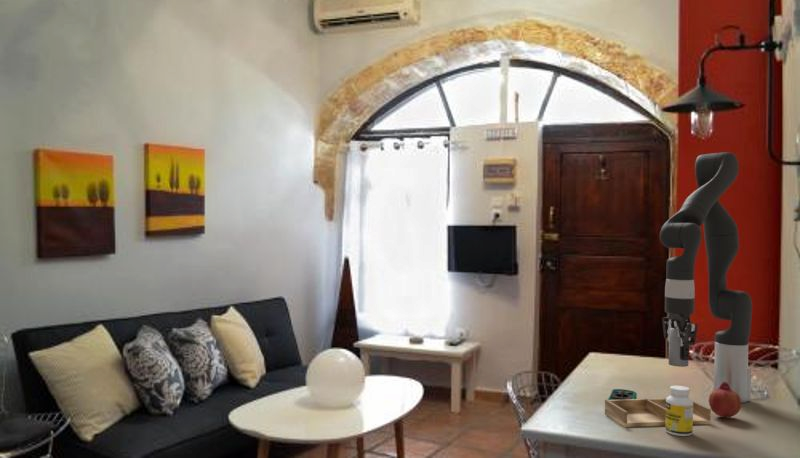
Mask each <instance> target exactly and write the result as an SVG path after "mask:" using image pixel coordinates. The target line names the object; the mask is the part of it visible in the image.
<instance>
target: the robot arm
mask: <svg viewBox="0 0 800 458" xmlns="http://www.w3.org/2000/svg"><path fill="white" fill-rule="evenodd" d="M739 165H740V164H739V159H738V157H737V156H736V154H735V153H733V152H729V151H727V152H726V151H724V152H723V151H722V152H714V153H713V152H712V153H706V154H699V155H698V156H697V157H696V159H695V163H694V170H695V171H694V174H695V181H696V185H697V189H695V190H694V191H693V192H692V193H690V195H689V196H687V197H686V198H685V200H684V202H683V203H682V205H681V207H680V209H679V210H678V211H677V212H676V213H675V214H673V215H672V216H671V217H670V218H669V219H667V221H665V222H664V224H662V226H661V229H660V231H659V241H660V244H661V245H663V246H664V248H668V249H683V252H682V253H681V255H679V256H672V257H670V258H668V259H667V260H666V269H665V270H666V271H665V273H666V275H665V278H666V279H665V285H664V312H665V313H666V314H668V316H663V317H662V319H661V320H662V321H661V322H662V330H663V338H664V339H666V340H667V342H668V343H669V327H671V328H676V329H677V337H678V338H679V340H680V345H681V346H680V359H681V360H688V361H689V359H690V347H691V346H694V345H696V340H697V335H698V334H697V333H698V332H697V331H698V324H697V323H693V322H692V320H691V315H693V314H695V305H696V304H695V303H696V302H695V301H696V300H695V299H696V297H695V296H696V293H695V291H696V290H695V289H696V287H695V264H696V259H697V255H698V252H699V248H700V246H701V242H702V238H703V236H704V243H705V244H704V245H705V251H706V259H707V272H708V273H707V274H708V306H709V311H710V313H711V315H712V316H713V317H714V318H716V319H719V320H725V321H731V322H730V326H729V327H728V328H726V329H724V330H720V331H717V332H715V334H714V367H713V368H714V369H713V370H714V371H713V373H714V374H713V375H714V377H713V391H714V390H715V389H718V388H719V387H720V385H721V384H722V383H723V382H727V383H728V384H729V386H730V389H731V390H733V391H735V392H736V393H737V394H738V395H739V397H740V400H741V403H742V404H743V403H747V402H751V396H752V395H751V392H752V391H751V390H752V389H751V388H752V387H751V384H752V380H751V379H752V370H751V368H749V340H750V339H749V338H750V336H751V329H752V318H753V317H752V315H753V302H752V297H751V295H750V294H749V293H748V292H746V291H742V290H735V289H728V288H727V274H728V272H729V269H730V268H731V265H732V263H733V261H734V260H735V259H736V258H735V257H736V256H737V254H738V252H739V249H740V242H739V241H740V240H739V231H738V226H737V223H736V222H735V220H734V219H733V217H732V216H731V214H730V213H729V212H728V211H727V210H726V208H725V207H724V205H722V204H721V202H720V201H719V200H720V197H722V195H723V194H724V193H725V192H726V191H727V190H728V189H729V188H730V187H731V186H732V184H733V183H734V182H735V180H736V179H737V176H738V175H739V172H740V169H739V168H740V167H739ZM702 225H703V233H702V229H701V226H702ZM703 234H704V235H703ZM680 331H681V332H685V334H681V332H680ZM683 337H685V339H684V340H683Z"/></svg>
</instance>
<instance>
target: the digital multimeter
mask: <svg viewBox="0 0 800 458" xmlns="http://www.w3.org/2000/svg"><path fill="white" fill-rule="evenodd" d="M637 395H638V394H637V392H636V391H634V390H629V389H623V388H619V389H618V388H613V389H612V390H611V392H610V395H609V397H608V398H607V399H606V400H624V399H638V398H637Z"/></svg>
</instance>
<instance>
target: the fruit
mask: <svg viewBox="0 0 800 458" xmlns="http://www.w3.org/2000/svg"><path fill="white" fill-rule="evenodd" d="M708 397H709V398H708V403H709V407H710V409H711V412H713V413H714V414H715V415H716V416H718V417H721V418H723V419H727V418H730V417H731V418H732V417H734V416H736V415H737V414H738V413H739V412H740V410H741V407H742V404H741V400H740V397H739V395H738V394H737V393H736V392H735V391H733V390H731V389H730V386H729V384H728V383H727V382H723V383H722V384H721V385H720V387H719V388H718V389H715V390H714V389H713V390H712V391H711V393H710V394H709V396H708Z"/></svg>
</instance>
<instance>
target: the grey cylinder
mask: <svg viewBox="0 0 800 458" xmlns="http://www.w3.org/2000/svg"><path fill="white" fill-rule="evenodd" d="M680 332H681V331H680ZM681 334H685V332H681ZM684 339H685V337H683V340H684ZM680 346H681V345H680V340H679V338H678V337H677V329H676V328H671V327H669V342H668V365H669V366H673V367H682V368H683V367H689V360H681V359H680Z"/></svg>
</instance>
